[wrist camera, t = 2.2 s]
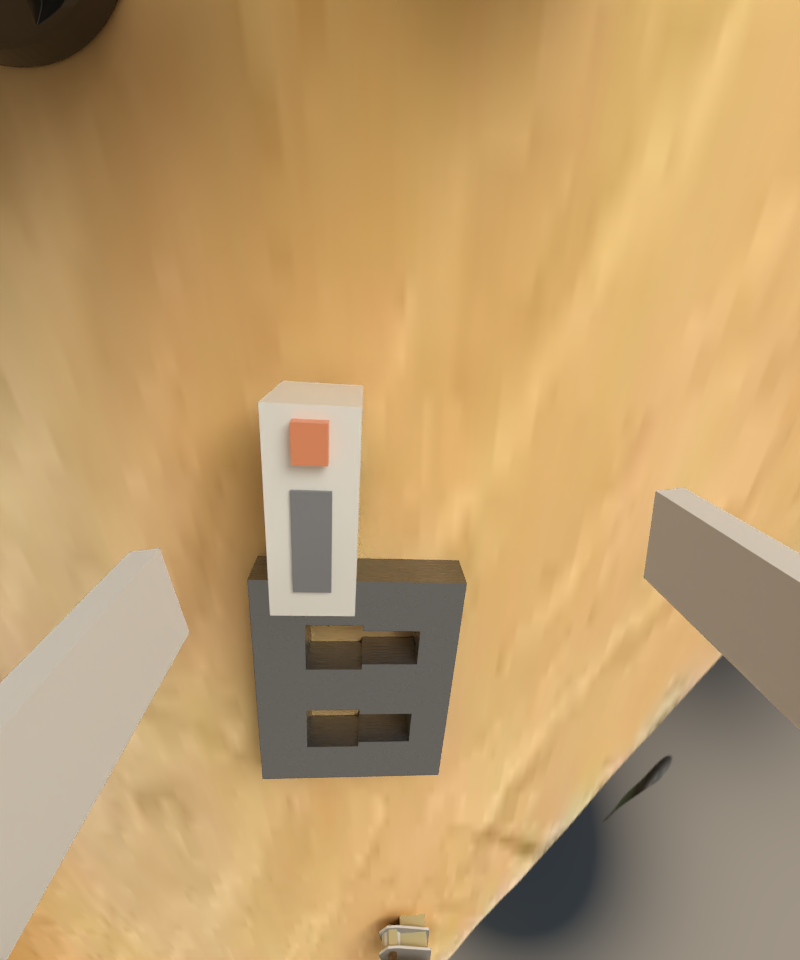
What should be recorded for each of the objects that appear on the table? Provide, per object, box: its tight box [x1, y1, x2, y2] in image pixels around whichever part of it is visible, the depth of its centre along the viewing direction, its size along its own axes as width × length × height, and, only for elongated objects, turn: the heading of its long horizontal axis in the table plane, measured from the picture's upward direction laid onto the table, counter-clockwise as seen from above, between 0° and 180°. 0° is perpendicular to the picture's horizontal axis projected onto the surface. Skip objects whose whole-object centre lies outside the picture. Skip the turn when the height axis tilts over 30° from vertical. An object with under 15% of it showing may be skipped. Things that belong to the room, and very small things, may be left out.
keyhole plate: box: [248, 556, 467, 779], centre depth 42 cm, size 18×24×4 cm
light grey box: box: [258, 381, 364, 616], centre depth 30 cm, size 6×14×11 cm, turn 176°
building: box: [379, 914, 431, 960], centre depth 60 cm, size 10×9×6 cm
